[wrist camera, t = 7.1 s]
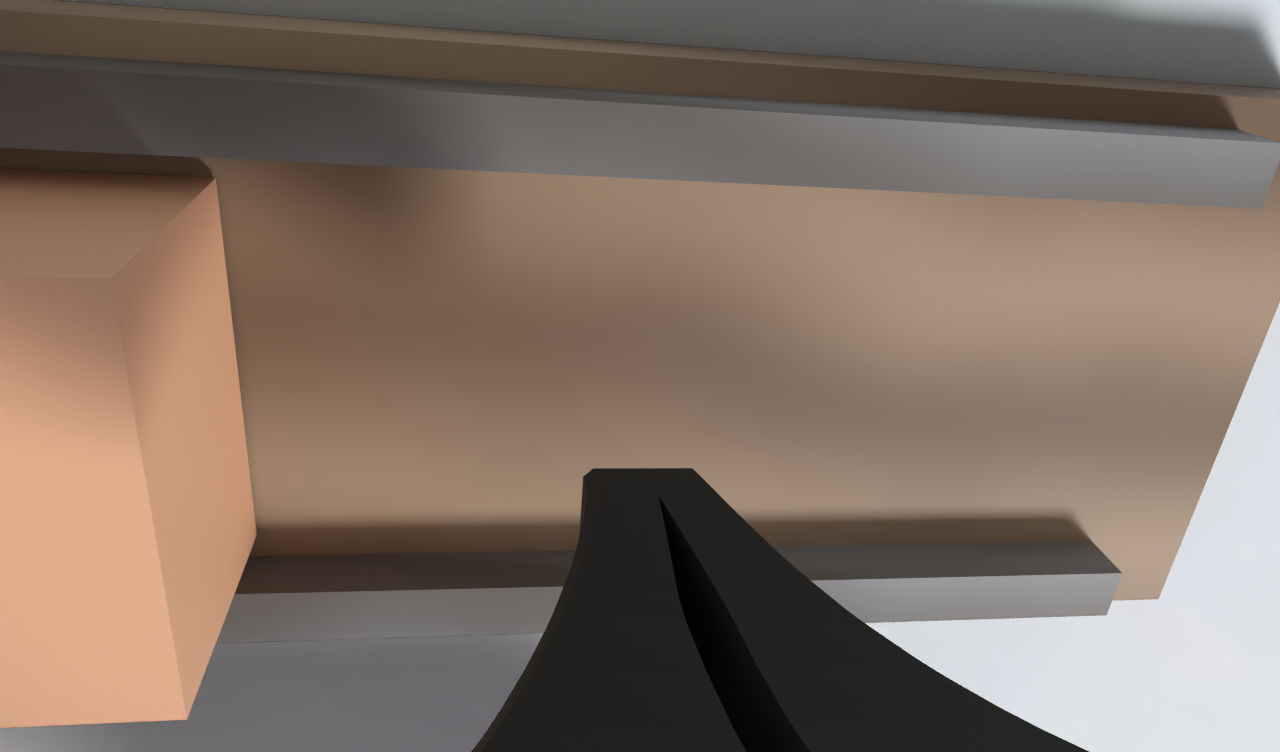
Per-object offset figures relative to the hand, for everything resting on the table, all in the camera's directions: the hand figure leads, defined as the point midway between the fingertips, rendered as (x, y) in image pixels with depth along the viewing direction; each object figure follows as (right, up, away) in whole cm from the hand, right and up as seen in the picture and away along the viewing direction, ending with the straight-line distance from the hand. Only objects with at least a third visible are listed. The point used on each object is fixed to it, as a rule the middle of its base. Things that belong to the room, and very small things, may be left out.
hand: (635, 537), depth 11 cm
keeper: (-9, +2, +2) cm, 9 cm away
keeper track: (-2, +3, +5) cm, 6 cm away
